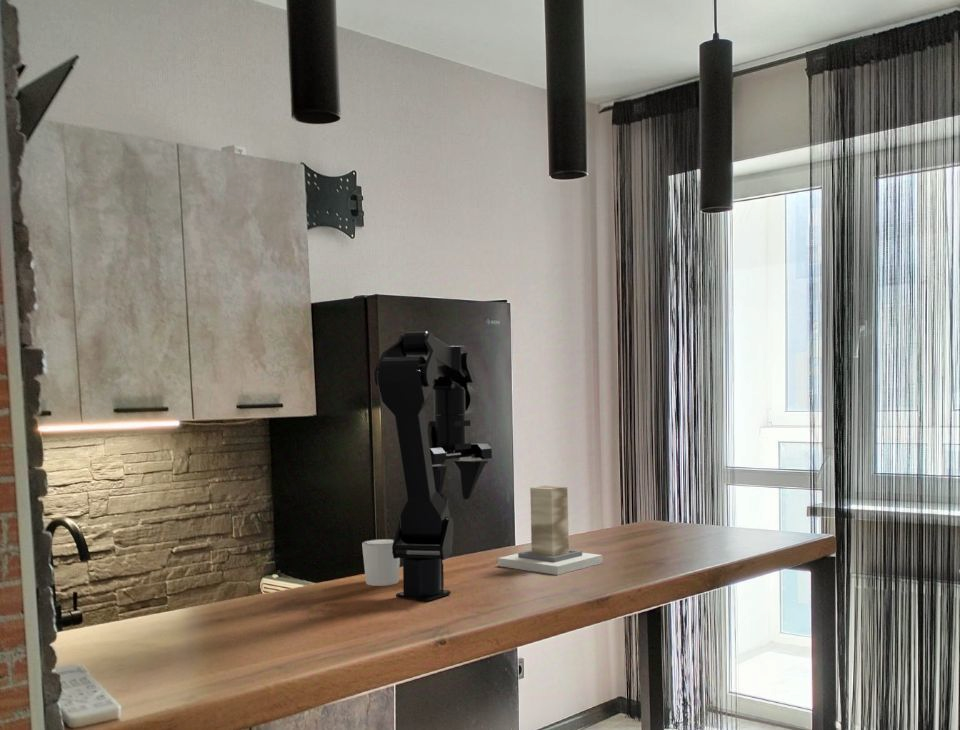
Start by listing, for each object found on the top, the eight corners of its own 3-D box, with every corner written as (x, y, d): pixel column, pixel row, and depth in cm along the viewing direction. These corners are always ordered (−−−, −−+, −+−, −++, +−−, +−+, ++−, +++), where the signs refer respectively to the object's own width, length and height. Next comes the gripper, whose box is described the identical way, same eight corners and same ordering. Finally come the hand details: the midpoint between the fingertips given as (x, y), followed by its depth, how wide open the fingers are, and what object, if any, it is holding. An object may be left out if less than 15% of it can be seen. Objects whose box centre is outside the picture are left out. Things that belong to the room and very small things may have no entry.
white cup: (405, 578, 149) (405, 538, 150) (397, 586, 143) (397, 544, 143) (367, 578, 150) (366, 538, 151) (357, 586, 143) (357, 544, 144)
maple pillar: (552, 559, 156) (551, 489, 157) (531, 557, 160) (530, 487, 160) (568, 555, 160) (567, 486, 161) (547, 553, 163) (546, 485, 164)
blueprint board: (557, 574, 150) (557, 561, 150) (498, 566, 159) (498, 553, 159) (602, 563, 160) (602, 550, 160) (544, 555, 170) (543, 543, 170)
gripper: (445, 414, 165) (446, 494, 164) (381, 416, 150) (383, 505, 149) (492, 413, 159) (494, 497, 158) (431, 416, 143) (433, 508, 143)
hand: (451, 501), depth 152 cm, fingers open, 9 cm apart
